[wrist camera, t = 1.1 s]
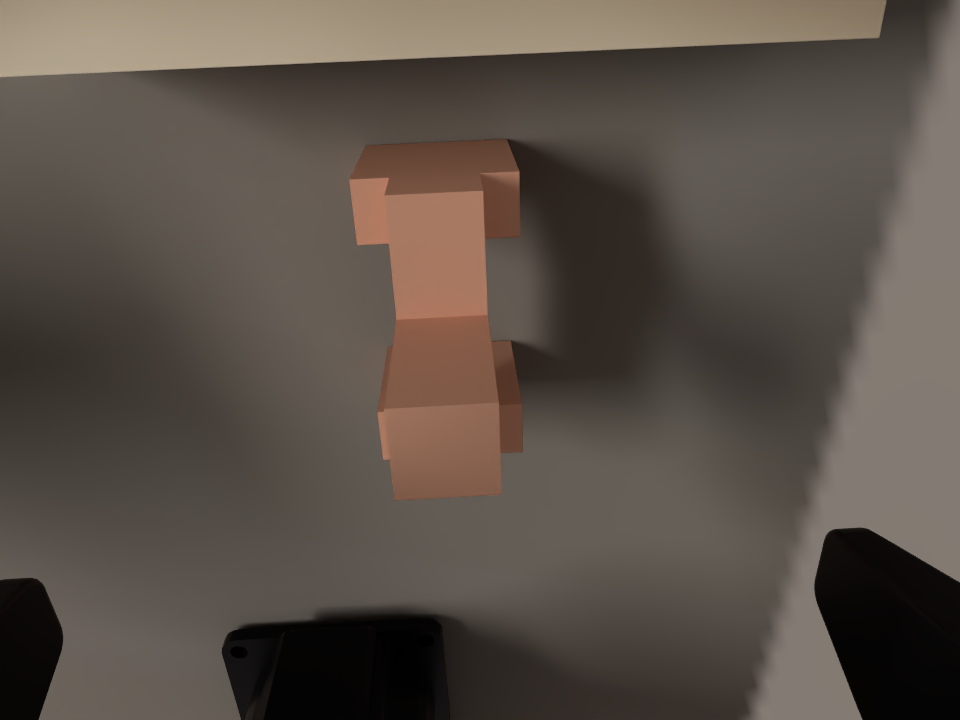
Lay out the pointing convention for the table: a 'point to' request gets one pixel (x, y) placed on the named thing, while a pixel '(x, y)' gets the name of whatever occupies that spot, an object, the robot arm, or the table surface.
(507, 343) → the tee shaped peg
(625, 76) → the table surface
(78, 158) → the table surface
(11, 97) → the table surface
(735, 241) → the table surface
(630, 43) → the frame with crossbar
